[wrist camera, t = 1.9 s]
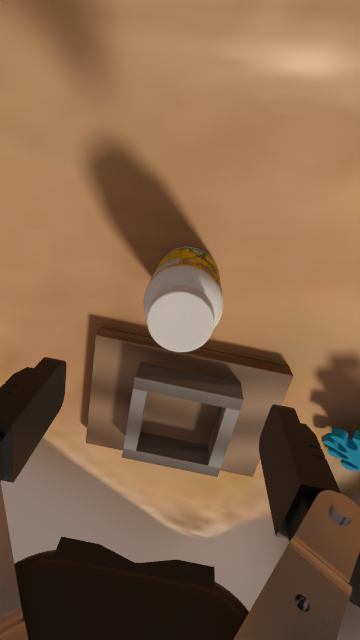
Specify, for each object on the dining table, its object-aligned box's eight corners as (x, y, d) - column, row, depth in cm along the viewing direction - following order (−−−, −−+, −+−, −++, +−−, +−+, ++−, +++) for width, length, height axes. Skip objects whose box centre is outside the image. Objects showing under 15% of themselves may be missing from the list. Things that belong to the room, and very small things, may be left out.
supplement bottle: (145, 266, 28) (116, 307, 19) (198, 232, 26) (194, 260, 17) (178, 316, 29) (166, 375, 20) (231, 287, 28) (242, 337, 19)
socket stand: (101, 327, 30) (86, 348, 27) (289, 366, 30) (300, 393, 27) (90, 431, 36) (77, 461, 32) (250, 464, 36) (255, 498, 32)
